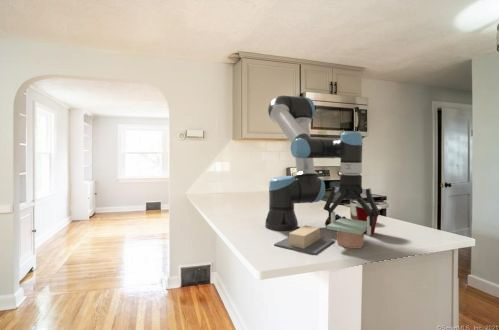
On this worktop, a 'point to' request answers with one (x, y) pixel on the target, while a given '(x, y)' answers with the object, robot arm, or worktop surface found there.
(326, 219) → the pastry
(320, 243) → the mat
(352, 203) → the food container
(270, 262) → the worktop surface
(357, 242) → the bowl
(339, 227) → the sheet
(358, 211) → the plastic cup
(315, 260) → the worktop surface
